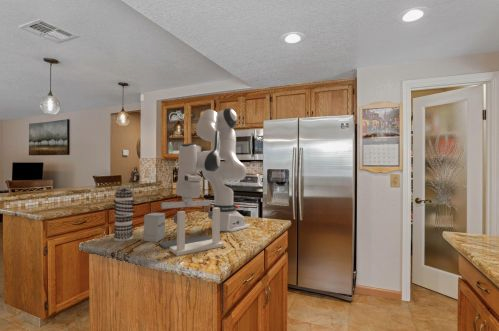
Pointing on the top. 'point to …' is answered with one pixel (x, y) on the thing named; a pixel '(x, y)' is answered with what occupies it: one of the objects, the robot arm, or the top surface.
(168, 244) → the rubber mat
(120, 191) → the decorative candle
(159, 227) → the supplement box
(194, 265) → the top surface
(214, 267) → the top surface
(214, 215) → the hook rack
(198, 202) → the steel bar
